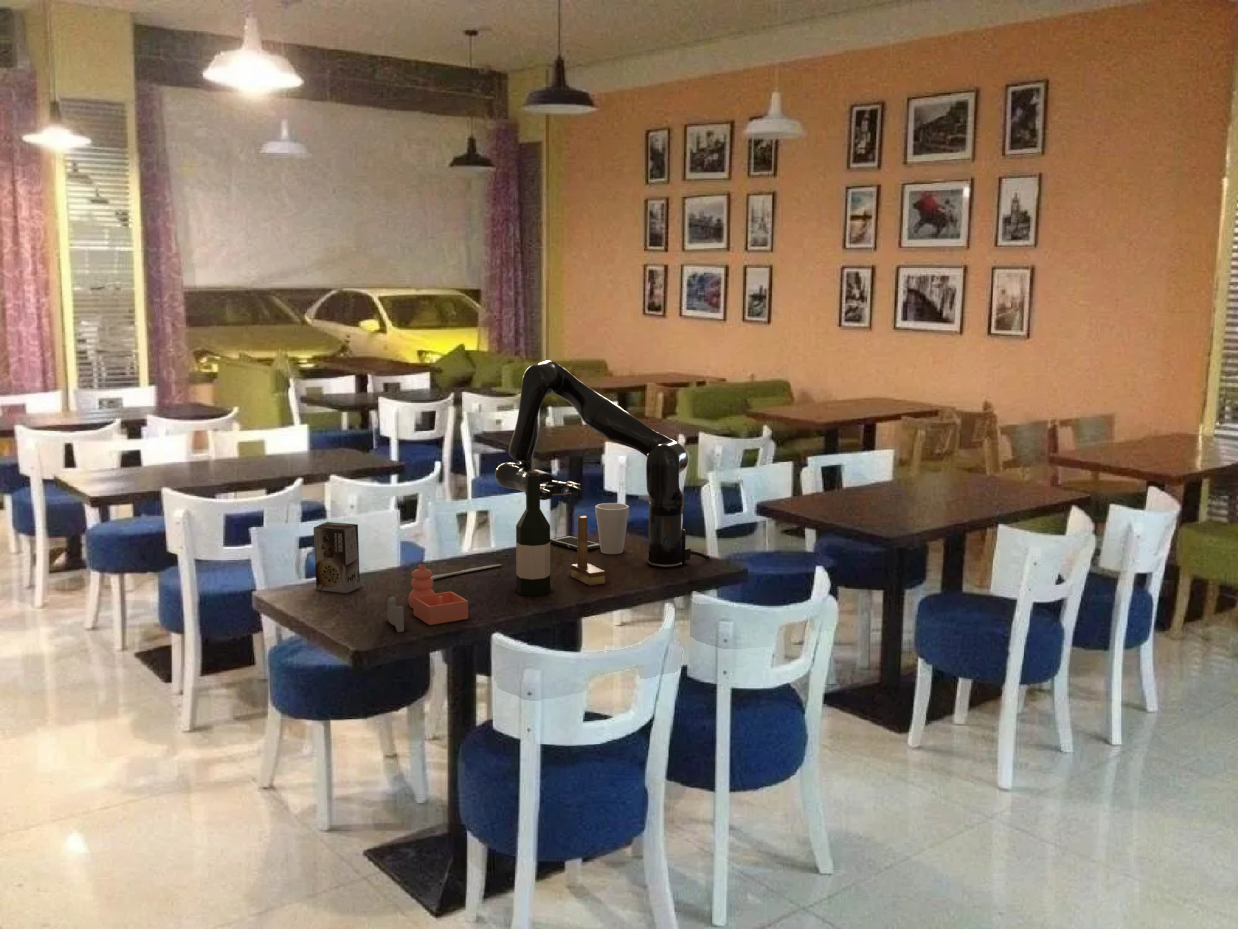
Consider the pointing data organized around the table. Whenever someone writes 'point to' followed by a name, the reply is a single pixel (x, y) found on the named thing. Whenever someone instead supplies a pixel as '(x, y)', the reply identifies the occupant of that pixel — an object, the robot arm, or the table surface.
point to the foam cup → (612, 526)
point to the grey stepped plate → (395, 614)
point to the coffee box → (336, 557)
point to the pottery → (434, 600)
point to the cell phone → (573, 542)
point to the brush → (585, 558)
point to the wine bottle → (533, 543)
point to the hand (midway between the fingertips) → (564, 493)
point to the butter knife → (461, 571)
